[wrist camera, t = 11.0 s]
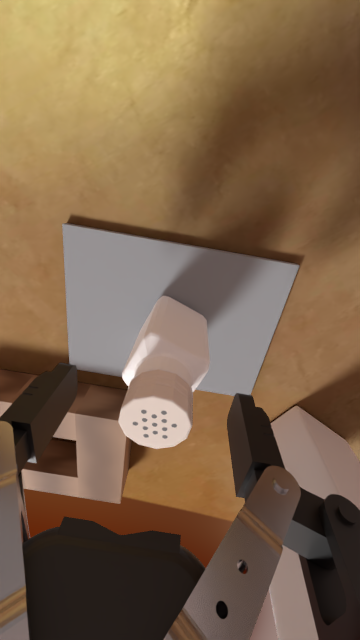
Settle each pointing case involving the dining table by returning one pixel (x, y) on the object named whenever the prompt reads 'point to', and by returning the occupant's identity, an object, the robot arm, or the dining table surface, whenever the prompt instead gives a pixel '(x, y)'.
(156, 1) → the dining table surface
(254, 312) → the placemat
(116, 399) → the shaker holder
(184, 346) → the salt shaker
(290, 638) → the milk carton
